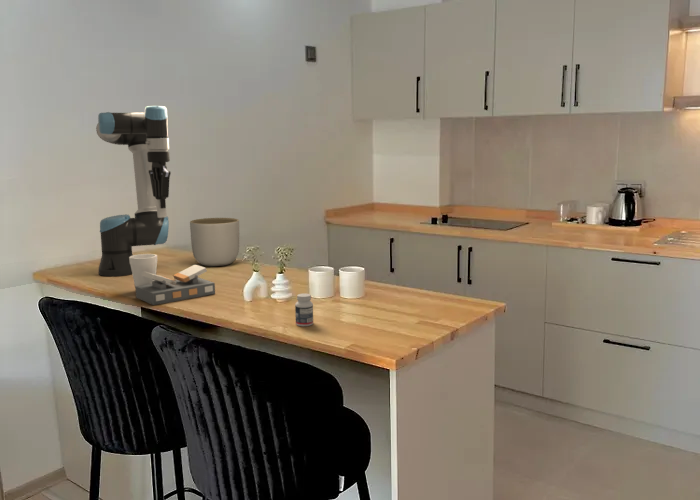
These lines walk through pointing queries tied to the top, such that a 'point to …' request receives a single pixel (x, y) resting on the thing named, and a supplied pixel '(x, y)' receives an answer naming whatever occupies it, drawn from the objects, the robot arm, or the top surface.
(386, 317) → the top surface
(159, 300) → the switch unit
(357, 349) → the top surface
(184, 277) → the panel
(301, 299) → the pill bottle
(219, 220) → the planter
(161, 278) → the block
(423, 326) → the top surface
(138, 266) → the foam cup
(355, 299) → the top surface
